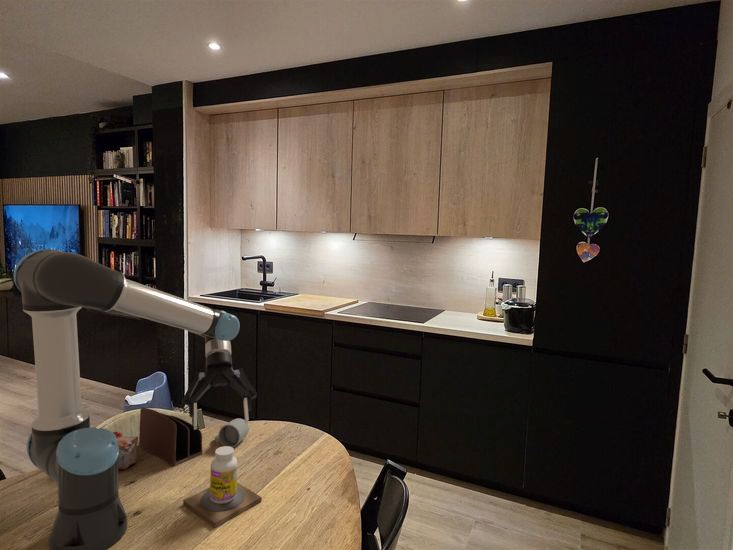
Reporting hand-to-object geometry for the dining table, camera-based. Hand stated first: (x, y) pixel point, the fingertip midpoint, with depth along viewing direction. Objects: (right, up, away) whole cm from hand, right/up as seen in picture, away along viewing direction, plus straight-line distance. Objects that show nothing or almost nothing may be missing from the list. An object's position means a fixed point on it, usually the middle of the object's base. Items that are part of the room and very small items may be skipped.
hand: (221, 424), depth 124 cm
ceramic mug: (-6, -15, +26) cm, 31 cm away
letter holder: (-23, -15, +19) cm, 33 cm away
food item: (-35, -15, +9) cm, 40 cm away
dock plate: (+3, -18, -7) cm, 20 cm away
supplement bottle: (+3, -17, -7) cm, 18 cm away
